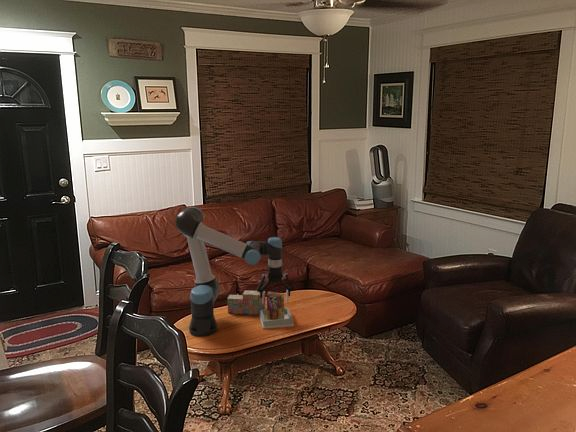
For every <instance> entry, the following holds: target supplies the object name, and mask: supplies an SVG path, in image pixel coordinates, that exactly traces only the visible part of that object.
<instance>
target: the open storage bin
mask: <svg viewBox="0 0 576 432" xmlns="http://www.w3.org/2000/svg"><path fill="white" fill-rule="evenodd" d="M258 317H259V321H260V323H261V327H262V329H273V328H274V329H276V328H286V327H294V326H295V324H294V319H293V317H292V314H291V312H290V308H289V307H284V319H277V320H267V308H266V309H261V310H260V314H259V315H258Z"/></svg>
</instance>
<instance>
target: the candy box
mask: <svg viewBox="0 0 576 432" xmlns="http://www.w3.org/2000/svg"><path fill="white" fill-rule="evenodd" d="M284 294H285V293H284V292H276V291H268V292H267V293H266V309H267V320H277V319H284V308H285V295H284Z"/></svg>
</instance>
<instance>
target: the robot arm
mask: <svg viewBox="0 0 576 432" xmlns="http://www.w3.org/2000/svg"><path fill="white" fill-rule="evenodd" d="M203 222H204V214H203V212H202V210H201V209H200V208H198V207H197V206H196V207H195V206H188V207H186V208H184V209H183V210H182V211H180V212H179V213H177V214H176V216H175V219H174V227H175V228H176V231H178V232H179V233H180V234H182V235H183V236H184V237H186V239H187V244H188V249H189V252H190V256H191V260H192V264H193V265H192V266H193V269H194V273H195V274H194V275H195V277H196V278H195V279H194V284H195V285H194V287H193V288H192V289H191V290H190V296H189V298H190V310H191V311H190V313H191V319H190V322H189V326H188V332H189V333H190V334H191V335H192V336H196V337H206V336H210V335H213V334H215V333H217V331H218V330H219V329H218V328H219V327H218V322H217V320H216V318H215V314H214V313H215V312H214V303H215V302H216V300H217V298H218V296H219V295H220V292H221V286H220V283H219V282H218V280H217V278H216V275H214V274H213V273H212V269H211V266H210V261H209V256H208V253H207V252H208V251H207V247H206V244H205V243H207V244H209V245H211V246H214V247H216V248H218V249H221V250H222V251H225V252H227V253H229V254H232V255H234V256H236V257H239V258H241V259H243V260H245V262H246V263H247V264H248V265H253V266H254V265H256V264H258V262H259V261H260V260H261V258H262V256H268V257H267V263H268V264H267V265H268V266H267V269H268V270H267V274H264V273H263V274H262V277H261V280H260V281H259V283H258V285H257V287H256V291H257V292H260V298H262V304H264V292H263V291H265V290H266V289H267V287H269V285H270V284H271V283H273V284H274V283H279V282H280V283H281V284H282V285H283V287H285V289H286V292H285V295H286V296H285V299H286V303H287V304H288V303H289V297H291V291H293V290H294V289H295V288H294V286H293V284H292V282H291V281H290V278H289V275H288V273H287V272H285V273H283V266H282V265H283V240H282V239H281V237H277V236H272V237H269V238H268V239H267V241H259V240H258V241H257V240H256V241H255V240H248V241H246V243H245V242H243V241H240V240H238V239H236V238H233V236H232V237H231V236H229V235H227V234H225V233H222V232H220V231H218V230H216V229H213V228H211V227H208V226H207V225H205V224H203ZM283 277H284V279H286V281H287V283H288V284H287V283H286V282H285V281H284V280H283V279H282V278H283ZM266 279H267V280H266ZM265 280H266V282H265ZM264 282H265V283H264ZM288 285H289V286H288Z"/></svg>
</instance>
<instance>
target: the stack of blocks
mask: <svg viewBox="0 0 576 432" xmlns="http://www.w3.org/2000/svg"><path fill="white" fill-rule="evenodd" d="M263 292H264V304H262V298H260V292H257V290H244V291H243V293H242V294H229V295H228V297H227V302H226V303H227V314H234V315H235V314H236V315H237V314H240V315H256V316H257V315H258V316H259V314H260V310H261V309H267V307H266V291H265V290H264V291H263Z"/></svg>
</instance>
